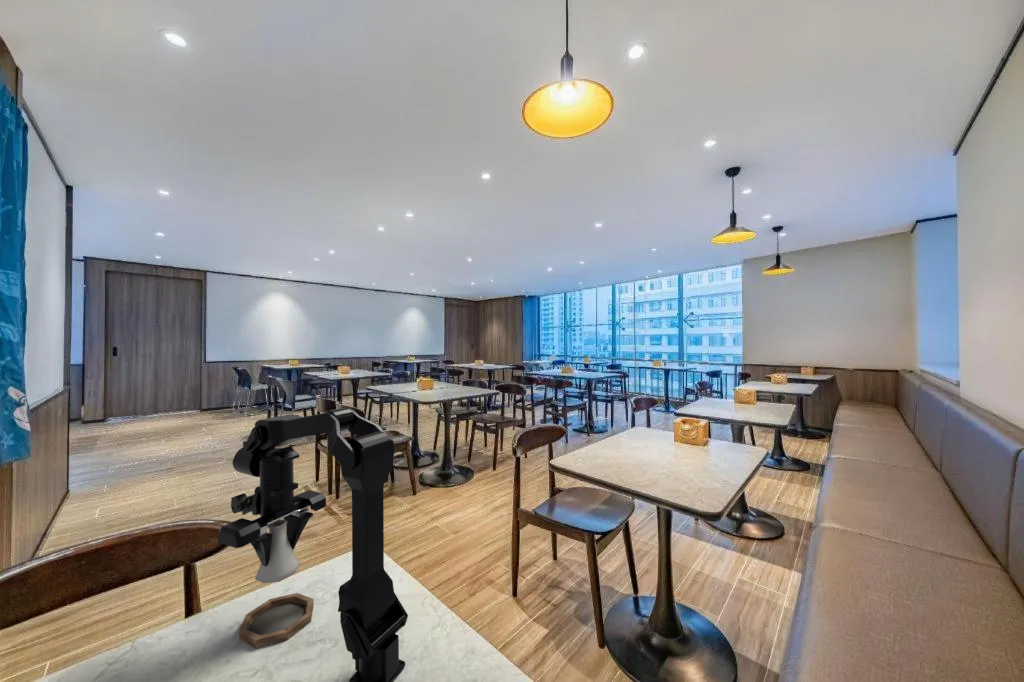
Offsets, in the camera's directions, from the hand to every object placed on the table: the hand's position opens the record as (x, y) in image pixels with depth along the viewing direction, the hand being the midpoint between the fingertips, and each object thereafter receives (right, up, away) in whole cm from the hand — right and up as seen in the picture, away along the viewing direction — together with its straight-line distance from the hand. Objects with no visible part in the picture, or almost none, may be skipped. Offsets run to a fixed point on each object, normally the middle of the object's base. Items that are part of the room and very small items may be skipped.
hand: (278, 558), depth 76 cm
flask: (0, -3, 0) cm, 3 cm away
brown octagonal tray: (0, -13, 0) cm, 13 cm away
